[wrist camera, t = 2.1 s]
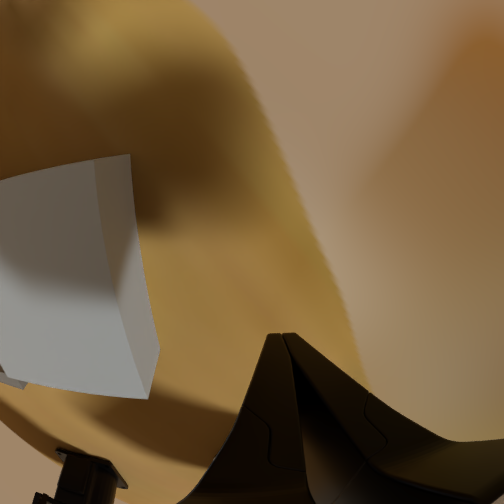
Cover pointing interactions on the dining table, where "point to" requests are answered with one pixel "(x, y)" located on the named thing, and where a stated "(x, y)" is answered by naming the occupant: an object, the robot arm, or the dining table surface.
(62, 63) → the dining table surface
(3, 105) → the dining table surface
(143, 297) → the carton
